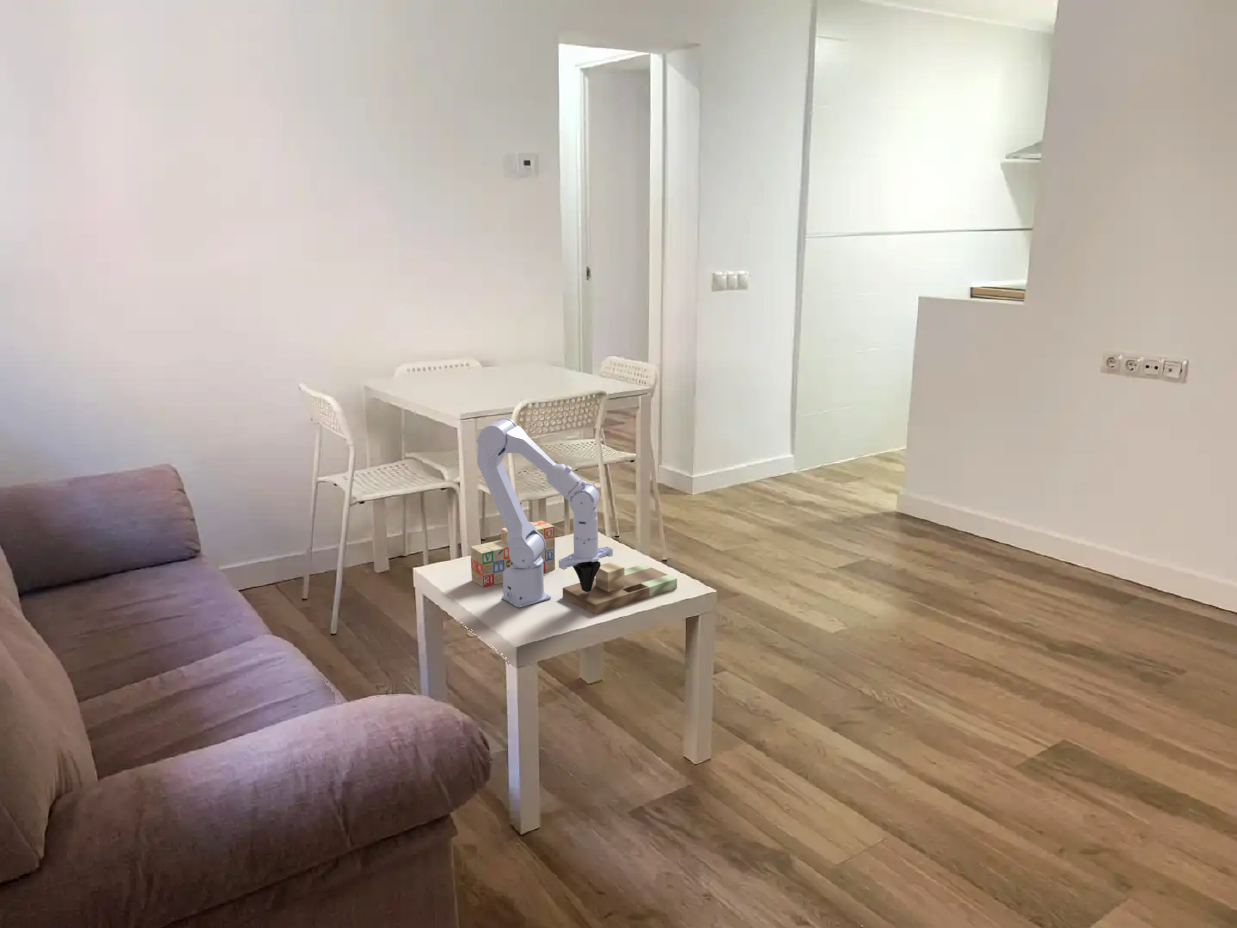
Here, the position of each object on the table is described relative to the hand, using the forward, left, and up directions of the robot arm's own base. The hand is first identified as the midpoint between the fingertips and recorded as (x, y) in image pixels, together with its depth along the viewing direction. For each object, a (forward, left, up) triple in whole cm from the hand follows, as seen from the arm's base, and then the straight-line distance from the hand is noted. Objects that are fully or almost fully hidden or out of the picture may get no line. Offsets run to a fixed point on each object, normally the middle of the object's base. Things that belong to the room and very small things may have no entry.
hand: (586, 590), depth 229 cm
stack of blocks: (-3, +27, -4) cm, 27 cm away
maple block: (+7, 0, -1) cm, 7 cm away
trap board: (+10, 0, -3) cm, 11 cm away
